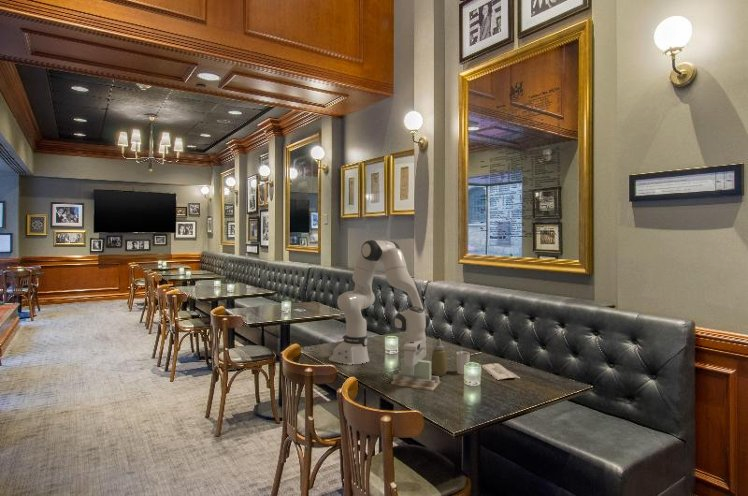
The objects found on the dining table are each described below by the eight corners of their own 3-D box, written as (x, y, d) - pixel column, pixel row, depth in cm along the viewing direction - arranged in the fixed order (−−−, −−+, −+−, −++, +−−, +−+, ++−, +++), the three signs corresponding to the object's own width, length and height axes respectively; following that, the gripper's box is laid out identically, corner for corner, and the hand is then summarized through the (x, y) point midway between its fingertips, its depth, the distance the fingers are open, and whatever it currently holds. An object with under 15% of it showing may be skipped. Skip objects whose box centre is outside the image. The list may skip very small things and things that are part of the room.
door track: (391, 384, 206) (391, 376, 206) (400, 376, 217) (400, 369, 217) (432, 390, 197) (432, 383, 197) (440, 382, 208) (440, 375, 208)
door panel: (400, 380, 209) (401, 359, 208) (403, 378, 211) (403, 357, 211) (429, 384, 203) (429, 362, 202) (431, 382, 205) (431, 361, 205)
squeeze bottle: (449, 373, 221) (449, 338, 221) (443, 378, 214) (443, 341, 214) (434, 371, 225) (434, 336, 225) (428, 375, 218) (428, 339, 218)
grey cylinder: (463, 375, 218) (463, 355, 218) (453, 372, 224) (453, 352, 223) (472, 373, 222) (472, 353, 222) (462, 369, 227) (462, 350, 227)
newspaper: (522, 380, 213) (521, 375, 213) (497, 384, 211) (497, 379, 211) (502, 366, 235) (502, 361, 235) (480, 369, 234) (480, 364, 234)
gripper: (417, 336, 217) (417, 364, 218) (401, 346, 199) (401, 376, 199) (429, 338, 214) (429, 366, 215) (415, 348, 196) (414, 378, 196)
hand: (415, 371), depth 207 cm, fingers open, 8 cm apart
